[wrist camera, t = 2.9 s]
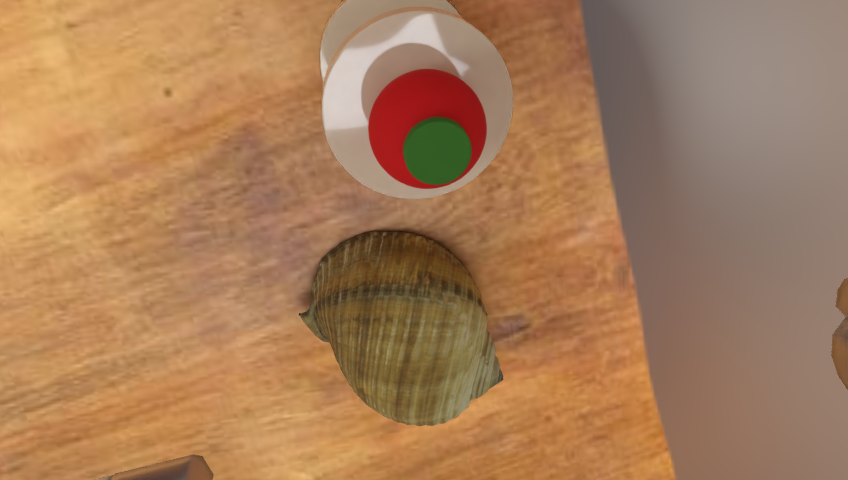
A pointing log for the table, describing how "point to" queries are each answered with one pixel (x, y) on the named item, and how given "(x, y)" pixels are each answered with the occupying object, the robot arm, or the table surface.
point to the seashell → (404, 326)
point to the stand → (394, 56)
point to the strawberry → (427, 128)
